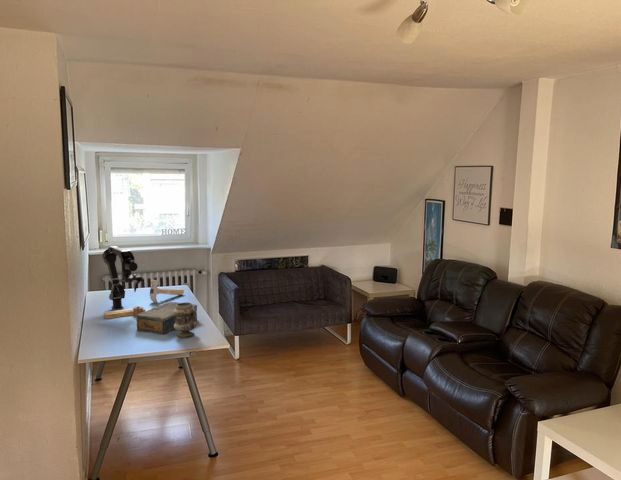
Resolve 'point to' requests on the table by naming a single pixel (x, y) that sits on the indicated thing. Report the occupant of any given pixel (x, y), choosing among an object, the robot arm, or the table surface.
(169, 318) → the metal box
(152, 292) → the hammer
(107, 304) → the table surface
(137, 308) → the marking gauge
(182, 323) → the apothecary jar
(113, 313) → the board
